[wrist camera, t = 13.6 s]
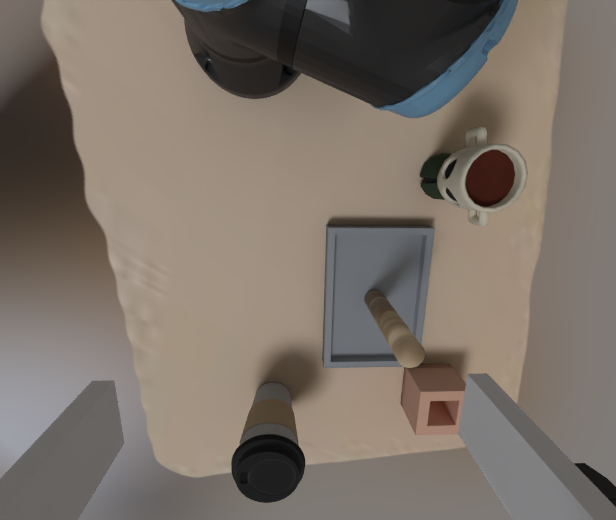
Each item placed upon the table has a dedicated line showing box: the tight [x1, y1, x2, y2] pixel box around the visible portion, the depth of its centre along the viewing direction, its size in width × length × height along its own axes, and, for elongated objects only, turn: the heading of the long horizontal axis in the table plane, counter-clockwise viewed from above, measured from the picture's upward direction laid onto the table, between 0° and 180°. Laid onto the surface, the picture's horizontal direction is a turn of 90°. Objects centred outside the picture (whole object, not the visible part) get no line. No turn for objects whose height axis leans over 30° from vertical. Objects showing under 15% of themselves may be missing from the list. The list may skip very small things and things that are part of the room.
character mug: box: [420, 127, 528, 226], centre depth 41 cm, size 11×7×13 cm, turn 9°
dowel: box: [364, 289, 425, 368], centre depth 42 cm, size 3×3×16 cm
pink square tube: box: [401, 364, 466, 435], centre depth 52 cm, size 8×8×7 cm
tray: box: [322, 225, 435, 368], centre depth 50 cm, size 22×15×2 cm
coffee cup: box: [231, 383, 305, 503], centre depth 48 cm, size 9×9×15 cm
